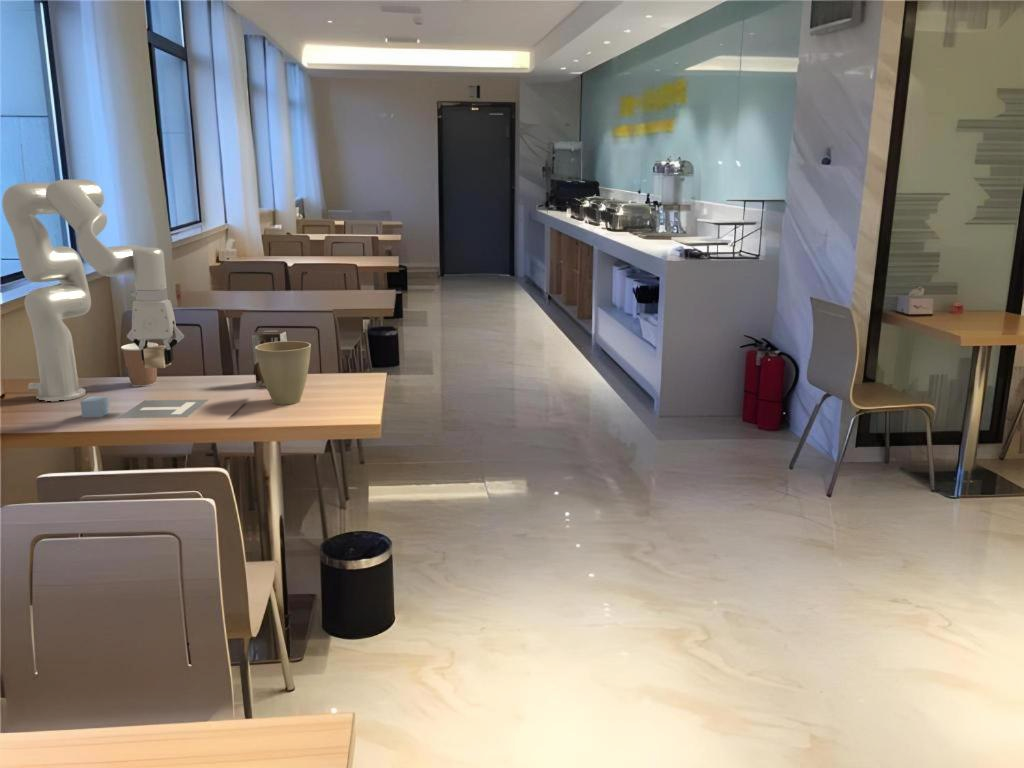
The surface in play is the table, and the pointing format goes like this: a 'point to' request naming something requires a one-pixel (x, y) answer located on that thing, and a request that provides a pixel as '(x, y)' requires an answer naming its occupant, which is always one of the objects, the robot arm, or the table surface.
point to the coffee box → (262, 338)
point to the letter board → (164, 409)
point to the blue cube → (95, 406)
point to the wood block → (155, 356)
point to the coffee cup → (138, 366)
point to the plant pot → (284, 369)
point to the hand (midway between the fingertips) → (158, 362)
